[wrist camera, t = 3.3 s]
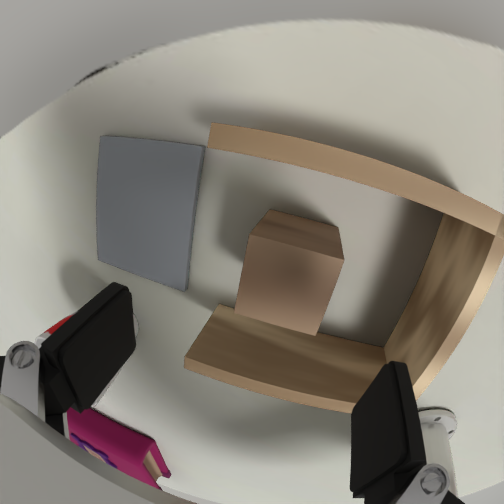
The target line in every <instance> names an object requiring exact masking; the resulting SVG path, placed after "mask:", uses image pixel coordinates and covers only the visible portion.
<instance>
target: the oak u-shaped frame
mask: <svg viewBox="0 0 504 504" xmlns="http://www.w3.org/2000/svg"><path fill="white" fill-rule="evenodd" d="M207 148H213V149H219V150H224V151H230V152H235V153H241V154H246V155H251V156H256V157H261V158H265V159H270V160H275V161H279V162H283V163H288V164H292V165H296V166H300V167H304V168H308V169H312V170H316V171H320V172H323V173H327V174H331V175H334V176H338V177H341V178H345V179H348V180H352V181H355V182H358V183H362V184H365V185H368V186H371V187H374V188H377V189H380V190H383V191H386V192H389V193H392V194H395V195H398V196H401V197H404V198H407V199H409V200H412V201H415V202H418V203H420V204H423V205H425V206H428V207H431V208H433V209H436V210H438V211H441V212H443V213H444V214H443V217H442V220H441V223H440V226H439V229H438V232H437V234H436V237H435V240H434V243H433V245H432V248H431V250H430V253H429V256H428V258H427V261H426V263H425V265H424V268H423V270H422V273H421V275H420V277H419V279H418V282H417V284H416V286H415V288H414V290H413V293H412V295H411V297H410V299H409V301H408V303H407V305H406V307H405V309H404V311H403V313H402V315H401V317H400V319H399V321H398V323H397V325H396V327H395V328H394V330H393V332H392V334H391V336H390V337H389V339H388V341H387V343H386V345H385V346H384V347H379V346H374V345H370V344H365V343H361V342H356V341H352V340H348V339H343V338H339V337H335V336H331V335H327V334H323V333H319V332H317V333H316V336H314V335H310V334H306V333H302V332H299V331H295V330H291V329H288V328H284V327H280V326H277V325H273V324H270V323H266V322H263V321H259V320H256V319H253V318H249V317H246V316H243V315H239V314H236V313H234V308H231V307H227V306H224V305H221V304H219V305H218V306H217V308H216V309H215V311H214V312H213V314H212V315H211V317H210V318H209V320H208V321H207V323H206V325H205V326H204V328H203V329H202V331H201V332H200V334H199V335H198V337H197V338H196V340H195V341H194V343H193V344H192V346H191V348H190V349H189V351H188V352H187V354H186V355H185V360H184V368H186V369H188V370H191V371H194V372H196V373H199V374H202V375H204V376H207V377H210V378H213V379H216V380H219V381H222V382H225V383H228V384H231V385H234V386H237V387H240V388H244V389H247V390H250V391H254V392H257V393H261V394H264V395H268V396H271V397H275V398H279V399H283V400H287V401H291V402H295V403H300V404H304V405H309V406H313V407H318V408H323V409H328V410H334V411H339V412H345V413H351V414H352V410H353V407H354V406H355V405H356V403H357V402H358V401H359V399H360V398H361V397H362V395H363V394H364V393H365V391H366V390H367V388H368V387H369V386H370V384H371V383H372V381H373V380H374V379H375V377H376V376H377V374H378V373H379V371H380V370H381V368H382V367H383V365H384V364H388V363H389V362H390V361H397V362H403V363H406V364H407V367H408V371H409V375H410V378H411V382H412V386H413V391H414V395H415V399H416V400H417V399H418V398H419V397H420V396H421V394H422V393H423V392H424V391H425V389H426V388H427V387H428V386H429V384H430V383H431V382H432V380H433V379H434V378H435V376H436V375H437V374H438V372H439V371H440V370H441V368H442V367H443V366H444V364H445V363H446V361H447V360H448V358H449V357H450V355H451V354H452V353H453V351H454V349H455V348H456V346H457V345H458V343H459V342H460V340H461V339H462V337H463V335H464V334H465V332H466V330H467V329H468V327H469V325H470V324H471V322H472V320H473V318H474V317H475V315H476V313H477V311H478V309H479V307H480V305H481V304H482V302H483V300H484V298H485V296H486V294H487V292H488V290H489V288H490V285H491V283H492V281H493V279H494V277H495V274H496V272H497V270H498V268H499V265H500V263H501V260H502V258H503V255H504V215H503V214H502V213H500V212H498V211H496V210H494V209H492V208H490V207H489V206H487V205H485V204H483V203H481V202H479V201H477V200H475V199H473V198H471V197H469V196H466V195H464V194H462V193H460V192H458V191H456V190H453V189H451V188H449V187H447V186H444V185H442V184H440V183H437V182H435V181H433V180H430V179H428V178H425V177H423V176H420V175H418V174H415V173H413V172H410V171H407V170H405V169H402V168H399V167H396V166H393V165H391V164H388V163H385V162H382V161H379V160H376V159H373V158H370V157H367V156H363V155H360V154H357V153H354V152H350V151H347V150H343V149H340V148H336V147H332V146H329V145H325V144H321V143H317V142H313V141H309V140H305V139H301V138H296V137H292V136H287V135H283V134H278V133H273V132H268V131H263V130H257V129H251V128H246V127H240V126H233V125H226V124H219V123H211V129H210V134H209V140H208V146H207Z"/></svg>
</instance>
